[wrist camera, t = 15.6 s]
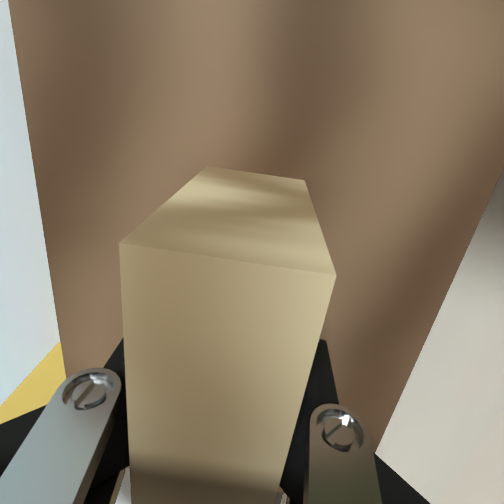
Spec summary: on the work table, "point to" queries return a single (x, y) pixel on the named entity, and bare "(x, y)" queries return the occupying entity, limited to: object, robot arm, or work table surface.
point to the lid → (254, 208)
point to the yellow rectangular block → (36, 387)
